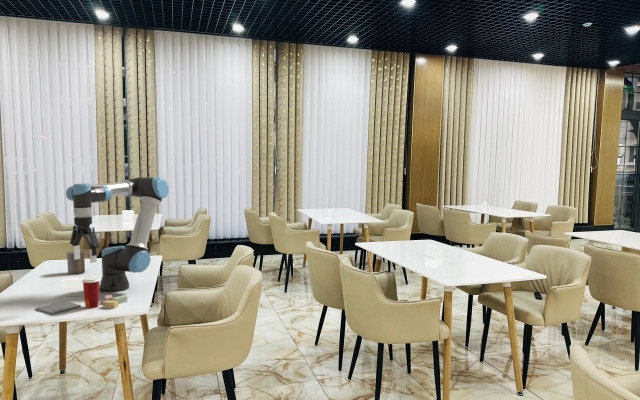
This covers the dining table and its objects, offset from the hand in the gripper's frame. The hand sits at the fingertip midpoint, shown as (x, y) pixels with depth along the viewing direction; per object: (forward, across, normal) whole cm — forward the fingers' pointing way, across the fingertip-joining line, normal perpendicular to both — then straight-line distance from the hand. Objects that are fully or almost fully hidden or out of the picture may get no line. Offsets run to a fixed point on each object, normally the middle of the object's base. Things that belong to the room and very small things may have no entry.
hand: (85, 260), depth 224 cm
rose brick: (+23, +1, +11) cm, 25 cm away
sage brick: (+23, +6, +13) cm, 27 cm away
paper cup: (+23, +1, +2) cm, 23 cm away
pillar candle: (+24, -73, +36) cm, 85 cm away
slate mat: (+22, -10, -8) cm, 26 cm away
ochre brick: (+23, +9, +6) cm, 25 cm away
